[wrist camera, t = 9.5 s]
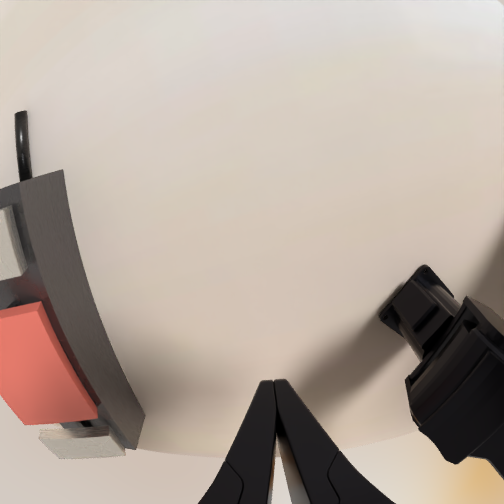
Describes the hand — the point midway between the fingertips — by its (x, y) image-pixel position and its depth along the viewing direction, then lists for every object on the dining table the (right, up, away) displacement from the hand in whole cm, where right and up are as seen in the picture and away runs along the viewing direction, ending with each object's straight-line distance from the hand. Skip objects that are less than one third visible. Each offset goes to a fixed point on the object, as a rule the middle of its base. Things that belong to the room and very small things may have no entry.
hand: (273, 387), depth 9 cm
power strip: (-20, 0, +14) cm, 24 cm away
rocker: (-20, -6, +8) cm, 22 cm away
